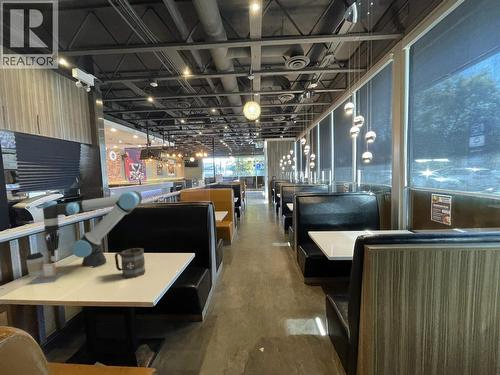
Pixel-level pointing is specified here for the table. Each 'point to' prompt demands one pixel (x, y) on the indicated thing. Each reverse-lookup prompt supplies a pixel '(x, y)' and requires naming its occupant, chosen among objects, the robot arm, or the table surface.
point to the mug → (131, 262)
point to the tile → (49, 270)
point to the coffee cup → (35, 264)
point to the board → (45, 279)
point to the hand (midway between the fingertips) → (54, 260)
